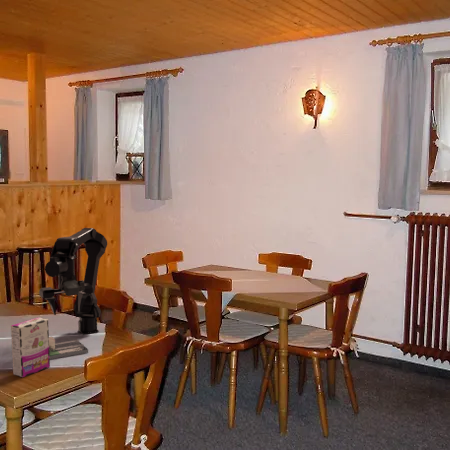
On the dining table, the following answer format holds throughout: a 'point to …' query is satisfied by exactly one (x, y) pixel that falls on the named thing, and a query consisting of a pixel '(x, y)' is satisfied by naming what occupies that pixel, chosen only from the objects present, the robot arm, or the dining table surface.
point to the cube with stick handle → (51, 343)
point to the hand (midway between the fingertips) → (67, 313)
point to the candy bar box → (30, 346)
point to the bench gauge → (67, 349)
